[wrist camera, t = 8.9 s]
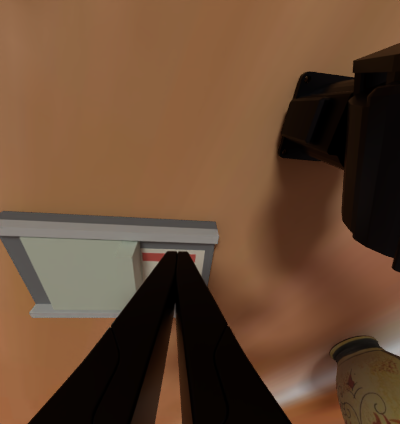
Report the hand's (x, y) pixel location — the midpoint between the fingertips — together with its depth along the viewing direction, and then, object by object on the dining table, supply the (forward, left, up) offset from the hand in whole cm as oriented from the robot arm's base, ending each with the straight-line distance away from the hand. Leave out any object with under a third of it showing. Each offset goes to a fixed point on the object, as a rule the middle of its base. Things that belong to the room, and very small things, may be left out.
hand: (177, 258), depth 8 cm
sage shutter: (+10, +13, -10) cm, 19 cm away
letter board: (+7, +13, -12) cm, 19 cm away
